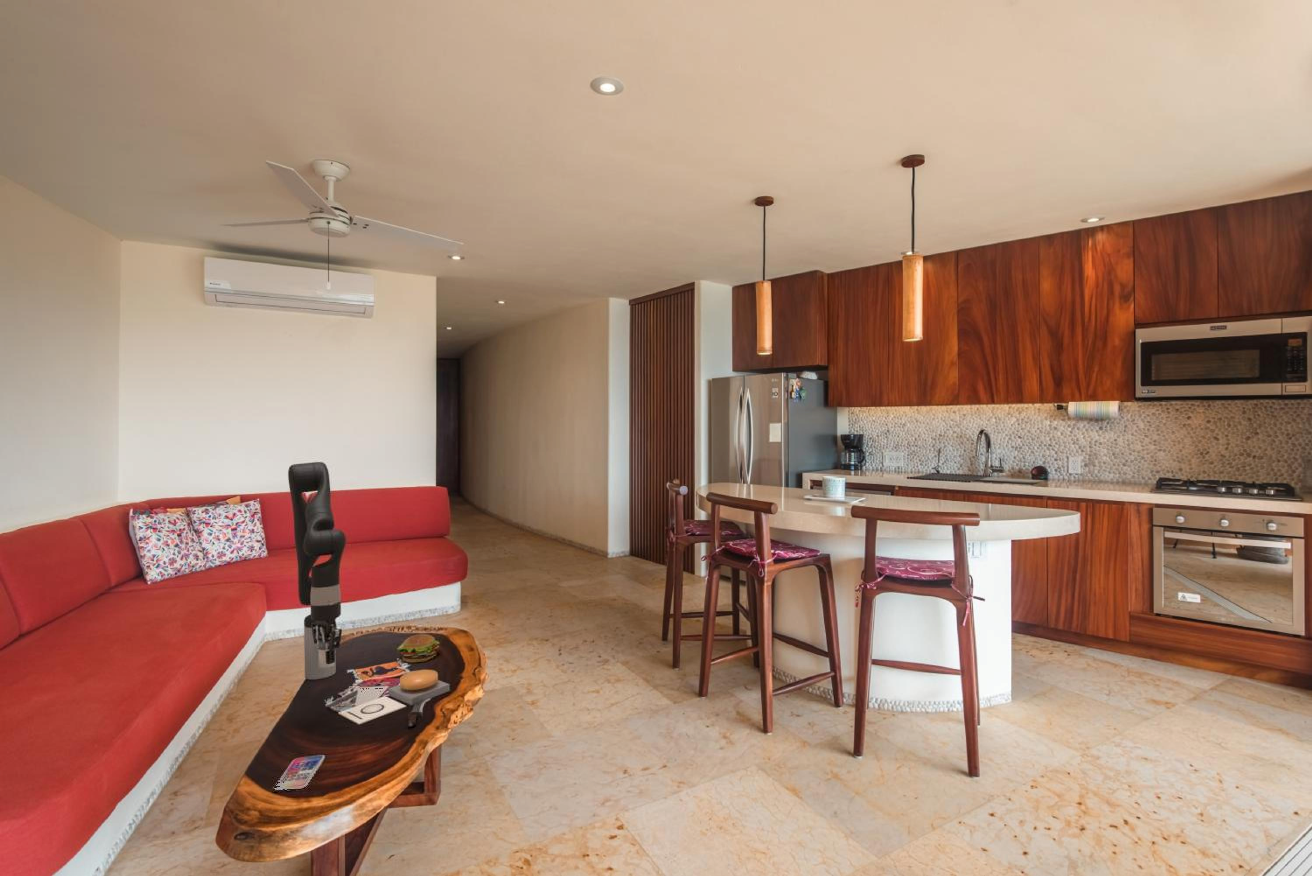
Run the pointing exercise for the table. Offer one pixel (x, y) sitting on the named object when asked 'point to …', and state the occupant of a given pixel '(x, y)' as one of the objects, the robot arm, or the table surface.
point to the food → (419, 648)
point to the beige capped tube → (322, 655)
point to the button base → (418, 692)
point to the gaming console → (368, 693)
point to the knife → (416, 712)
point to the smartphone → (300, 772)
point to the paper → (371, 710)
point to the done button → (418, 679)
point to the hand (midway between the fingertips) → (326, 661)
